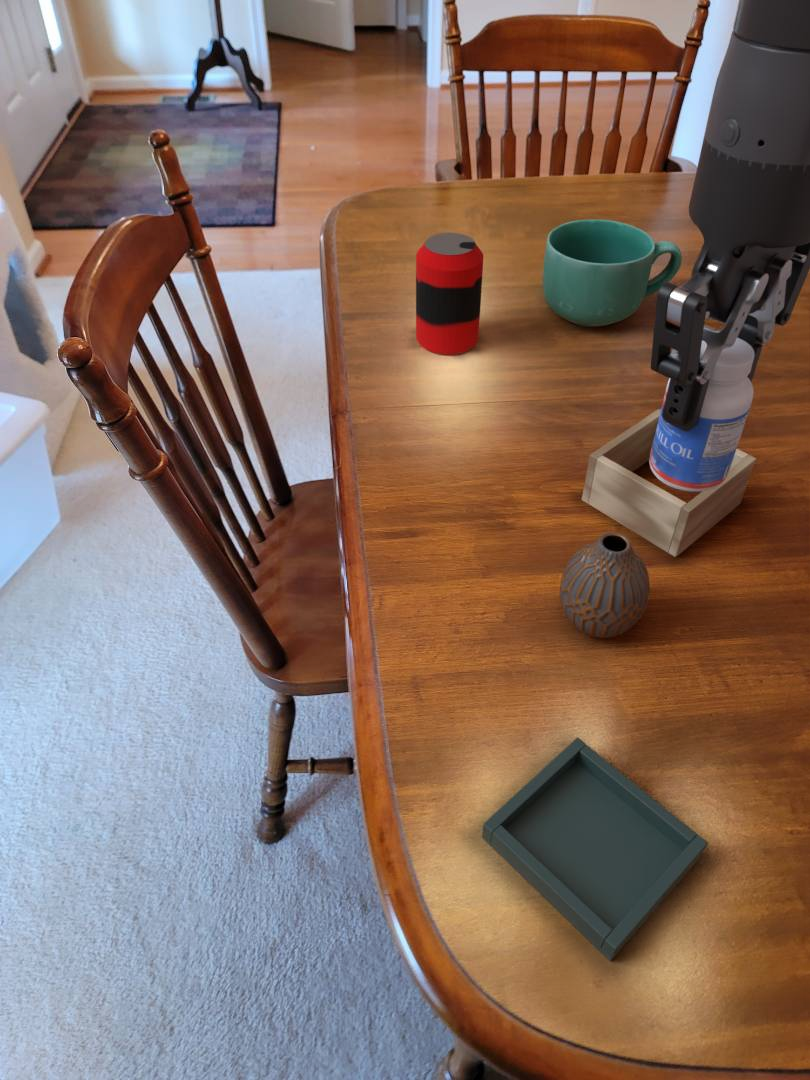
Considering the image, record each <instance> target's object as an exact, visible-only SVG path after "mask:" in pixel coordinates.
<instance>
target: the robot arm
mask: <svg viewBox="0 0 810 1080" xmlns="http://www.w3.org/2000/svg"><path fill="white" fill-rule="evenodd" d="M702 140H703V141H702V144H701V149H700V154H699V158H698V163H697V166H696V167H697V168H696V172H695V176H694V182H693V185H692V190H691V194H690V199H689V204H688V214H689V218H690V220H691V221H692V223H693V224H694V226H696V227H697V229H698V230H699V231H700V233H701V235H702V237H703V244H702V246H701V249H700V251H699V254H698V257H697V259H696V261H695V262H694V265H693V267H692V269H691V277H690V278H689V279H688V280H686V281H685V282H684V283H683V284H682V285H677V284H674V283H672V282H670V281H669V282H666V283H664V284H663V285H662V286H661V288H660V289H659V290H658V291H657V295H656V298H655V299H656V300H655V314H654V322H653V323H654V325H653V334H652V335H653V336H652V345H651V348H652V349H651V359H650V369H651V371H654V372H655V373H657V374H660V375H662V376H664V377H666V378H668V379H669V378H670V383H669V387H668V391H667V395H666V400H665V404H664V408H663V412H662V417H663V419H664V420H665V421H666V422H667V423H669V424H671V425H673V426H675V427H677V428H679V429H681V430H683V431H689V430H691V429H692V428H694V427H695V426H697V424H698V421H699V417H700V413H701V410H702V406H703V402H704V399H705V395H706V391H707V388H708V384H709V378H710V376H711V373H712V371H713V369H714V367H715V365H716V363H717V361H718V358H719V356H720V354H721V352H722V350H723V349H725V348H729V347H731V346H733V345H734V343H735V341H736V339H737V338H739V339H742V340H744V341H745V342H747V343H748V344H749V345H750V346H751V347H752V348H753V350H754V353H755V356H754V360H753V364H752V367H751V371H750V373H749V375H748V376H747V377H748V378H749V380H750V381H751V383H752V382H753V378H754V375H755V372H756V369H757V366H758V364H759V363H758V362H759V360H760V356H761V352H762V350H763V345H766V344H768V343H769V341H770V340H771V339H772V338H773V336H774V333H775V328H776V327H775V326H776V325H779V326H781V327H784V326H785V325H786V324H787V323H788V321H789V320H790V319H791V316H792V313H793V311H794V308H795V305H796V304H797V301H798V298H799V296H800V294H801V292H802V288H803V287H804V284H805V283H806V279H807V277H808V274H809V271H810V0H738V4H737V9H736V13H735V18H734V21H733V27H732V32H731V34H730V38H729V42H728V45H727V48H726V52H725V55H724V57H723V61H722V63H721V66H720V69H719V72H718V75H717V78H716V81H715V86H714V89H713V93H712V97H711V103H710V107H709V112H708V116H707V121H706V125H705V129H704V135H703V139H702ZM708 319H711V320H713V321H716V322H718V323H721V324H724V326H723V328H722V329H720V330H719V329H717V328H714V327H712V326H709V325H707V324H706V320H708ZM702 340H703V341H705V342H706V344H707V348H706V350H705V352H704V354H703V357H702V359H701V361H700V360H699V359H700V352H701V345H702ZM671 349H672V350H671Z"/></svg>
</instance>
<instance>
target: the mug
mask: <svg viewBox="0 0 810 1080" xmlns="http://www.w3.org/2000/svg"><path fill="white" fill-rule="evenodd" d="M664 254H670V258H669V260H668V263H667V264H666V266H665V267H664V268H663V269H662V270H661V271H660V272H659V273H658V274H657V275H655V276H654V277H652V278H651V279H650V277H651V272H652V268H653V267H652V266H653V265H654V264H655V262H656V261H657V259H658V258H659V257H660V256H662V255H664ZM682 260H683V256H682V251H681V249H680V248H679V246H678V245H677V244H676V243H674V242H672V241H670V240H660V241H658V242H655V240H654V239H653V237H652V236H651V235H650V234H648V232H646V231H644V230H643V229H641V228H638V227H637V226H634V225H631V224H628V223H624V222H620V221H616V220H610V219H597V218H596V219H595V218H594V219H593V218H591V219H578V220H573V221H569V222H564V223H563V224H560V225H558V226H556V227H555V228H553V229H552V230H551V231H550V232H549V233H548V235H547V238H546V244H545V251H544V261H543V270H542V292H543V296H544V299H545V302H546V303H547V305H548V306H549V308H550V309H551V310H552V311H553V312H554V313H555V314H557V315H558V316H559V317H561V318H563V319H565V320H567V321H568V322H570V323H572V324H574V325H578V326H581V327H587V328H588V327H589V328H597V327H598V328H599V327H604V326H608V325H611V324H615V323H619V322H622V321H623V320H625V319H627V318H629V317H630V316H632V315H633V314H634V313H635V312H636V311H637V310H638V309H639V307H640V306H641V304H642V302H643V300H644V299H645V298H647V297H649V296H652V295H653V294H656V293H658V291H659V289H660V288H661V286H662V285H663V284H664V283H666V282H669V283H670V282H671V281H672V280H673V279H674V277H675V276H676V275H677V273H678V272H679V270H680V269H681V266H682Z"/></svg>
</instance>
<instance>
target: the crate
mask: <svg viewBox="0 0 810 1080" xmlns="http://www.w3.org/2000/svg"><path fill="white" fill-rule="evenodd" d="M660 412H661V408H658V409H656V410H654V411H653V412H651V413H650V414H649V415H647V416H645V417H644V418H642V419H641V420H639V421H638V422H637V423H635V424H633V425H632V426H630V427H628V428H627V429H626V430H625V431H623V432H622V433H620V434H619V435H617V436H616V437H614V438H612V439H611V440H610V441H609V442H607V443H606V444H604V445H603V446H601V447H599V448H598V449H596V450H595V451H593V452H592V453H590V454H589V457H588V464H587V468H586V473H585V480H584V485H583V491H582V494H581V495H582V496H581V501H582V502H583V503H586V504H587V505H589V506H591V507H592V508H594V509H596V510H597V511H598V512H600V513H602V514H603V515H605V516H607V517H608V518H609V519H612V520H613V521H615V522H617V523H619V524H620V525H622V526H623V527H625V528H626V529H628V530H630V531H631V532H633V533H634V534H636V535H638V536H640V537H641V538H642V539H645V540H646V541H647V542H649V543H650V544H653V545H654V546H655V547H658V548H659V549H661V550H662V551H664V552H665V553H668V554H669V555H670V556H672V557H674V558H677V557H678V556H679V555H680V554H681V553H683V552H684V551H686V549H688V547H690V546H691V545H692V544H694V543H695V542H696V541H697V540H698V539H700V538H701V537H702V536H703V535H705V534H706V533H707V532H708V531H709V530H710V529H712V528H713V527H715V525H717V524H718V523H719V522H720V521H721V520H722V519H724V518H725V517H726V516H727V515H728V514H730V513H731V512H732V511H733V510H735V509H736V508H737V507H738V506H739V505H740V504H741V503H742V500H743V497H744V494H745V492H746V488H747V486H748V483H749V481H750V478H751V475H752V472H753V469H754V467H755V464H756V461H757V458H756V457H755V456H752V455H751V454H748V453H746V452H744V451H743V450H741V449H739V448H737V449H736V452H735V455H734V458H733V461H732V464H731V467H730V470H729V472H728V475H727V477H726V479H725V480H724V482H723V483H722V484H721V485H719V486H718V487H716V488H714V489H711V490H708V491H701V492H699V494H697V495H696V496H694V497H693V498H692V499H691V500H690V501H688V502H687V501H684V500H682V499H681V498H679V497H677V496H675V495H674V494H672V493H670V492H668V491H667V490H665V489H663V488H661V487H659V486H657V485H656V484H654V483H652V482H650V481H649V480H647V479H645V478H643V477H642V476H639V475H638V474H636V473H635V471H636V470H638V469H639V468H640V467H642V466H644V464H646V463H648V462H649V460H650V453H651V449H652V445H653V441H654V437H655V433H656V429H657V425H658V420H659V416H660Z"/></svg>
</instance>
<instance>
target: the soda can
mask: <svg viewBox="0 0 810 1080" xmlns="http://www.w3.org/2000/svg"><path fill="white" fill-rule="evenodd" d="M483 270H484V253H483V251H482V250H481V249H480V247H479V246H478V245H477V243H476V241H475V240H474V239H473V238H472V237H471V236H469V235H466V234H463V233H458V232H441V233H436V234H433V235H431V236H429V237H427V238H426V240H425V241H424V243H423V244H422V245H421V246H420V248H418V250H417V252H416V255H415V338H416V339H415V340H416V341H417V343H418V345H420V346H421V347H422V348H423V349H424V350H426V351H428V352H429V353H430V352H431V353H433V354H436V355H441V356H442V355H445V356H449V355H452V356H453V355H458V354H462V353H466V352H468V351H469V350H471V349H472V348H474V346H475V345H477V343H478V341H479V336H480V320H481V307H482V306H481V305H482V304H481V302H482V290H483V289H482V287H483V274H484V273H483Z"/></svg>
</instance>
